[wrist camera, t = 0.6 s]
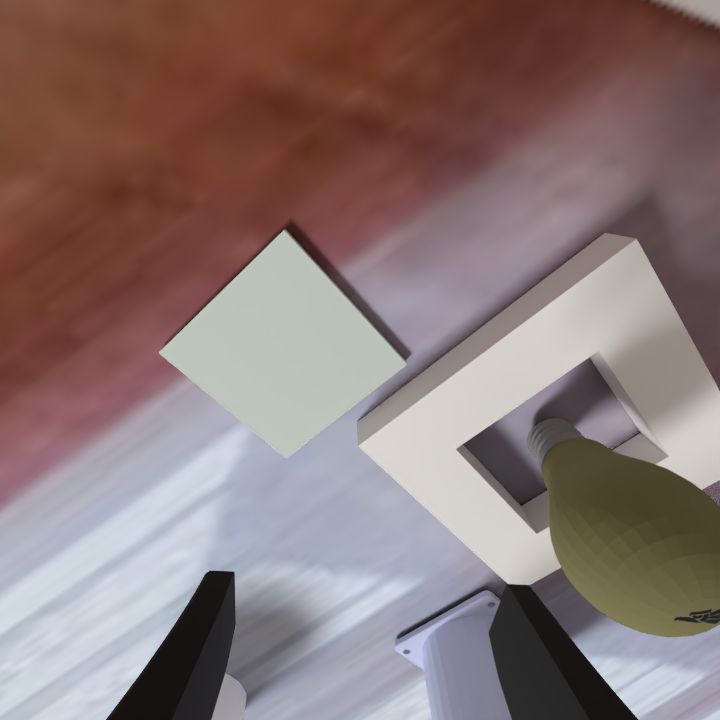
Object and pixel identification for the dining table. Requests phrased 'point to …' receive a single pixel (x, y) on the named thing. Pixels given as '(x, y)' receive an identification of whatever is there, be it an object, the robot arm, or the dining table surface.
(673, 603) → the light bulb
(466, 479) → the socket block
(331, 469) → the dining table surface
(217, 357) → the rubber pad
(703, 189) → the dining table surface
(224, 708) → the cup
